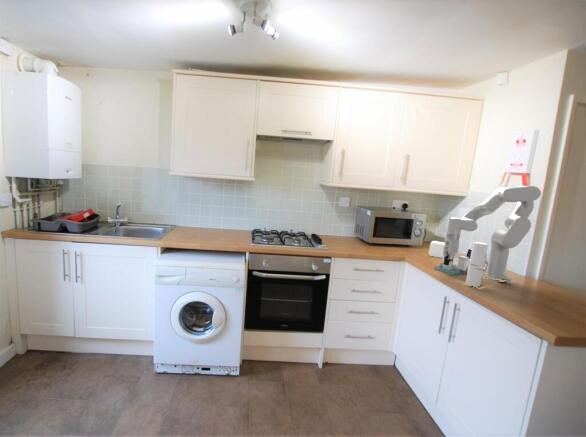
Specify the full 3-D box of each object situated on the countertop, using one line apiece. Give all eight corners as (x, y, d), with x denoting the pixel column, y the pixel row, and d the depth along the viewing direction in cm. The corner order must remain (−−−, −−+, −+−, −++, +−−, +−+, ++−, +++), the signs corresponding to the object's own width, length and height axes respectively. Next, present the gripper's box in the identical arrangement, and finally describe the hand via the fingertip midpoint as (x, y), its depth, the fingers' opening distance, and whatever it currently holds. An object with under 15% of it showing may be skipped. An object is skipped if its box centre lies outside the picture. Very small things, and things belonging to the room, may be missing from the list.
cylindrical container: (466, 282, 177) (474, 241, 173) (480, 285, 173) (488, 243, 169) (464, 285, 172) (472, 242, 168) (478, 288, 167) (487, 245, 163)
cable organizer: (426, 256, 233) (429, 241, 231) (429, 254, 241) (431, 239, 240) (448, 260, 224) (450, 245, 223) (450, 258, 233) (452, 243, 231)
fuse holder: (469, 274, 194) (470, 269, 194) (463, 275, 190) (464, 271, 189) (445, 266, 207) (445, 262, 207) (438, 267, 203) (439, 263, 202)
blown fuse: (451, 269, 193) (454, 254, 191) (448, 269, 190) (451, 254, 189) (445, 267, 196) (448, 252, 194) (442, 267, 194) (445, 252, 192)
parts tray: (459, 274, 191) (460, 270, 191) (452, 276, 186) (453, 271, 186) (441, 268, 201) (442, 264, 200) (434, 270, 196) (434, 265, 195)
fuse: (465, 272, 194) (468, 257, 193) (462, 273, 192) (465, 257, 190) (459, 270, 197) (462, 255, 196) (456, 271, 195) (459, 256, 194)
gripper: (451, 238, 182) (446, 267, 185) (465, 237, 192) (460, 265, 194) (440, 235, 188) (435, 264, 191) (453, 234, 198) (448, 261, 200)
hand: (447, 264), depth 193 cm, fingers closed on blown fuse, 3 cm apart
